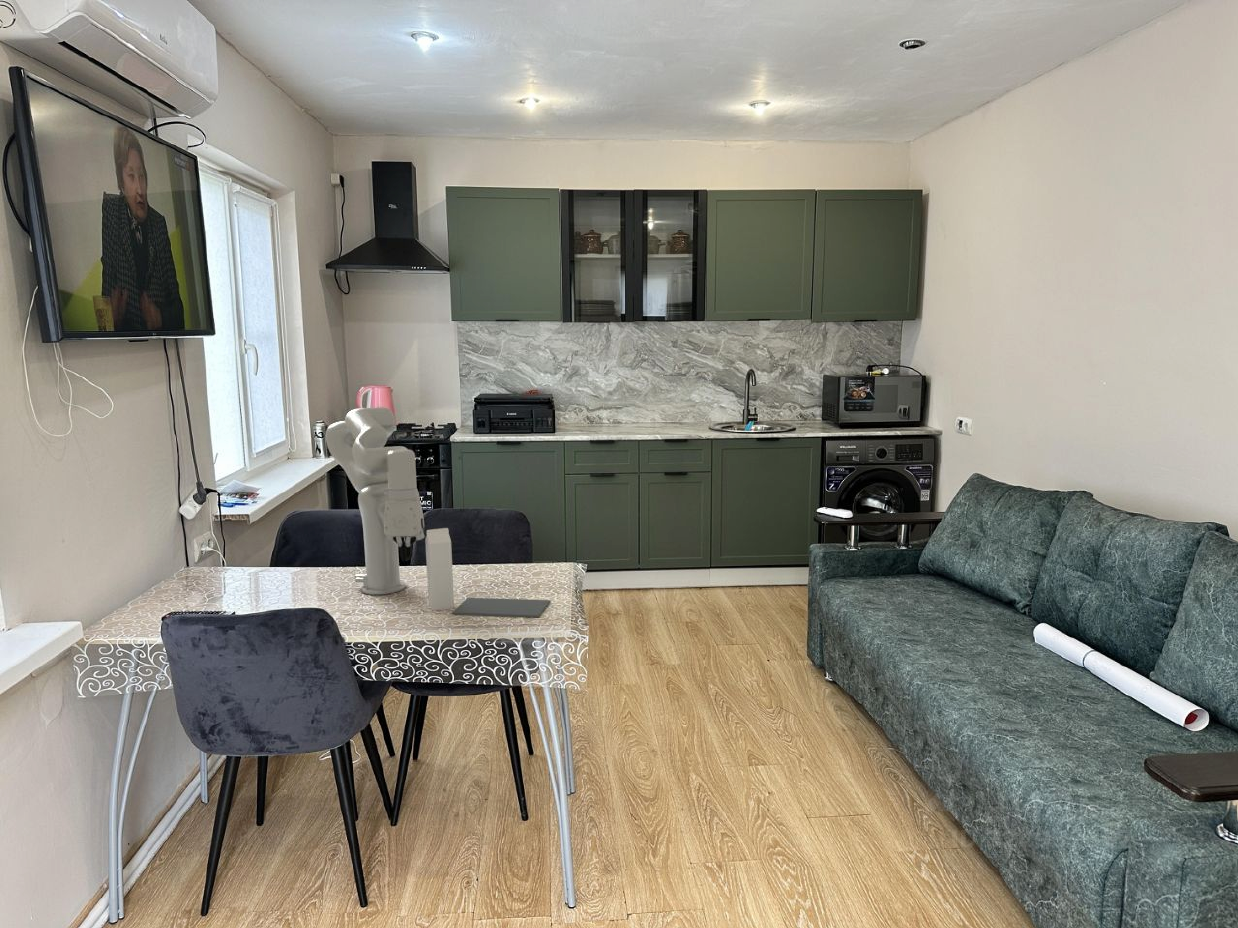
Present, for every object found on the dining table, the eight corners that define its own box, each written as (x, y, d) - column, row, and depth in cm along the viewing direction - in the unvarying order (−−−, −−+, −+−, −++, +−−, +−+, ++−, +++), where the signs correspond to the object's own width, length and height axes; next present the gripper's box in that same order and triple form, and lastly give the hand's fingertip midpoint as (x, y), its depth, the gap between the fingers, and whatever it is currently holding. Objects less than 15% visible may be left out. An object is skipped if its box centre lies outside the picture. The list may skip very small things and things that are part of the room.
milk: (454, 608, 216) (451, 530, 213) (432, 611, 214) (428, 532, 210) (449, 601, 221) (446, 525, 218) (428, 604, 219) (424, 527, 216)
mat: (452, 614, 210) (451, 612, 210) (468, 599, 223) (468, 597, 223) (538, 617, 207) (538, 615, 207) (550, 602, 219) (550, 600, 219)
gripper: (371, 496, 212) (375, 562, 214) (423, 497, 210) (427, 563, 212) (383, 492, 219) (387, 555, 222) (434, 492, 217) (437, 556, 220)
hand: (406, 559), depth 217 cm, fingers closed
